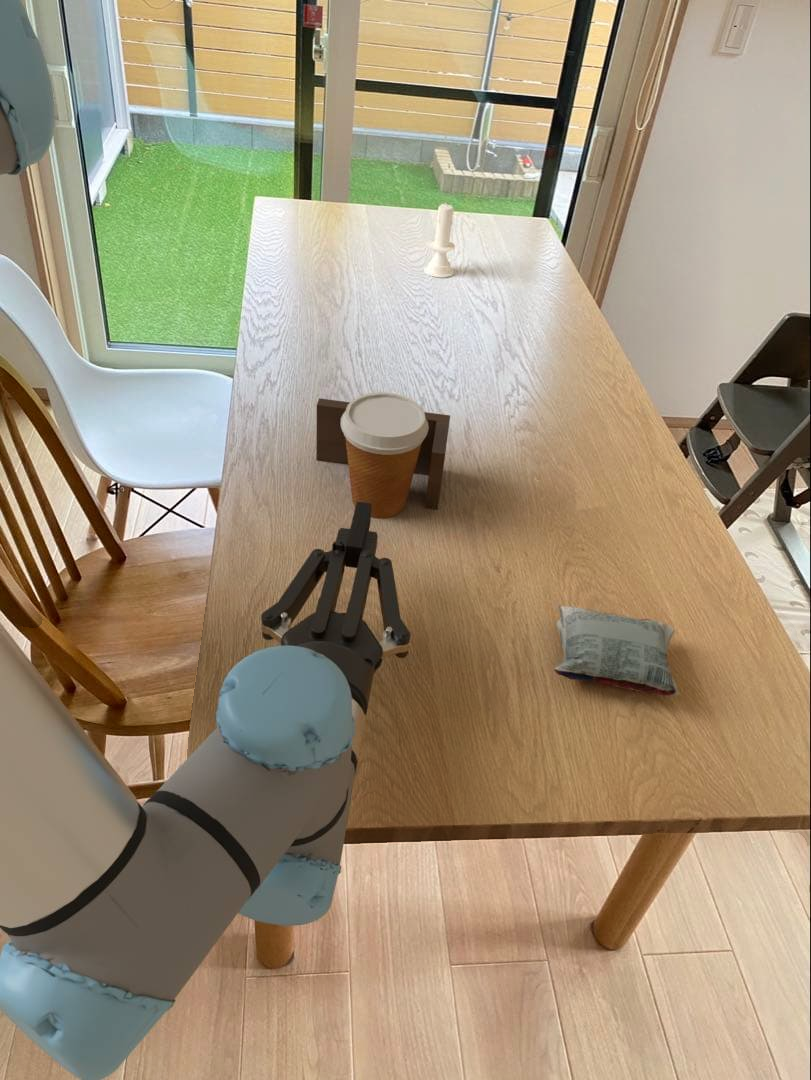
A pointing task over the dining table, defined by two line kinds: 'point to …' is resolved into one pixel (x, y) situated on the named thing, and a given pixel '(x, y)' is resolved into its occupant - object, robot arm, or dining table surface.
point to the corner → (430, 453)
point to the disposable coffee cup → (383, 449)
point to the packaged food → (615, 650)
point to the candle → (441, 244)
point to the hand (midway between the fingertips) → (363, 513)
